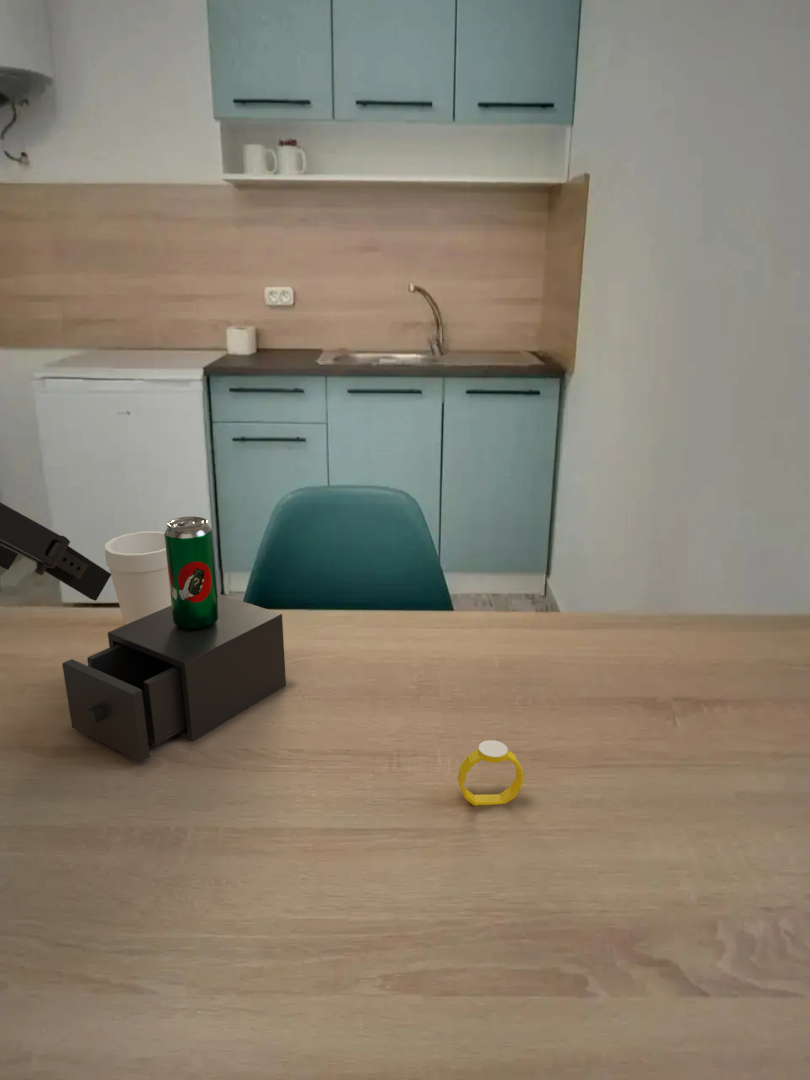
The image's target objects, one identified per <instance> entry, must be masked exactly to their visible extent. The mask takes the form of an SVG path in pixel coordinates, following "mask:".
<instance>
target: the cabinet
mask: <svg viewBox="0 0 810 1080" xmlns="http://www.w3.org/2000/svg"><path fill="white" fill-rule="evenodd" d="M217 596H218V608H219V618H218V620H217V621H216V622H215V624H214V625H212V626H211V627H209V628H206V629H203V630H196V631H189V630H183V629H181V628H179V627H178V626H177V625H176V624H174V622H173V615H172V605H171V606H169V607H166V608H164V609H162V610H159V611H157V612H155V613H152V614H150V615H148V616H145V617H143V618H140V619H138V620H136V621H133V622H131V623H129V624H126V625H125V624H124V625H122V626H120V627H117V628H115V629H113V630H110V631H107V638H108V648H110V647H112V646H114V645H116V644H119V643H120V644H123V645H125V646H128V647H130V648H133V649H135V650H138V651H140V652H143V653H145V654H148V655H150V656H153V657H155V658H158V659H160V660H163V661H165V662H168V663H170V664H173V665H175V666H177V667H180V668H181V677H182V686H183V696H184V706H185V716H186V725H187V728H186V729H184V730H183V731H181V732H179V733H177V734H176V735H177V736H178V737H181V738H183V739H185V740H187V741H189V742H192V743H193V742H196V741H197V740H199V739H200V738H202V737H203V736H205V735H207V734H208V733H210V732H212V731H214V730H216V729H217V728H218V727H220V726H222V725H224V724H226V723H227V722H228V721H230V720H232V719H234V718H235V717H237V716H238V715H241V714H242V713H243V712H245V711H247V710H248V709H250V708H252V707H253V706H255V705H256V704H258V703H260V702H261V701H263V700H265V699H266V698H268V697H270V696H271V695H273V694H275V693H276V692H278V691H280V690H281V689H283V688H285V687H286V686H287V679H286V678H287V676H286V660H285V659H286V657H285V643H284V642H285V641H284V626H283V625H284V624H283V613H280V612H277V611H274V610H271V609H267V608H265V607H261V606H258V605H255V604H253V603H248V602H246V601H242V600H239V599H236V598H234V597H229V596H227V595H224V594H221V593H218V592H217Z"/></svg>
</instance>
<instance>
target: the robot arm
mask: <svg viewBox="0 0 810 1080" xmlns="http://www.w3.org/2000/svg"><path fill="white" fill-rule="evenodd" d="M70 544H71V541H70V539H69V538H68V537H66V536H65V535H60V534H58V533H56V532H55V531H53V530H51V529H50V528H48V527H46V526H44V525H43V524H41V523H39V522H36V521H35V520H33V519H31V518H30V517H28V516H26V515H24V514H22V513H21V512H18V511H17V510H16V509H13V508H11V507H10V506H8V505H6V504H5V503H2V502H1V501H0V567H1V568H3V569H4V570H7V571H8V570H10V568H11V567H12V566H13V564H14V562H15V560H16V558H17V557H18V556H21V557H23V558H24V559H27V560H30V561H32V563H33V562H34V563H35V564H36V565H35V566H36V568H35V570H34V573H35V574H37V575H39V576H43V575H44V573H47V574H48V575H50V576H51V577H53V578H54V579H56V580H58V581H60V582H62V583H63V584H65V585H66V586H68V587H70V588H71V589H73V590H75V591H77V592H78V593H80V594H81V595H83V596H85V597H86V598H89V599H90V600H92V601H97V600H98V599H99V596H100V595H101V593H102V591H103V590H104V588H105V586H107V583H108V581H109V579H110V577H111V573H110V571H107V570H106V569H104V568H103V567H101V566H100V565H98V564H97V563H95V562H94V561H92V560H91V559H89V558H88V557H86V556H84V554H82V553H80V552H78V551H77V550H76V549H74V548H72V547H71V546H69V545H70Z"/></svg>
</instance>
